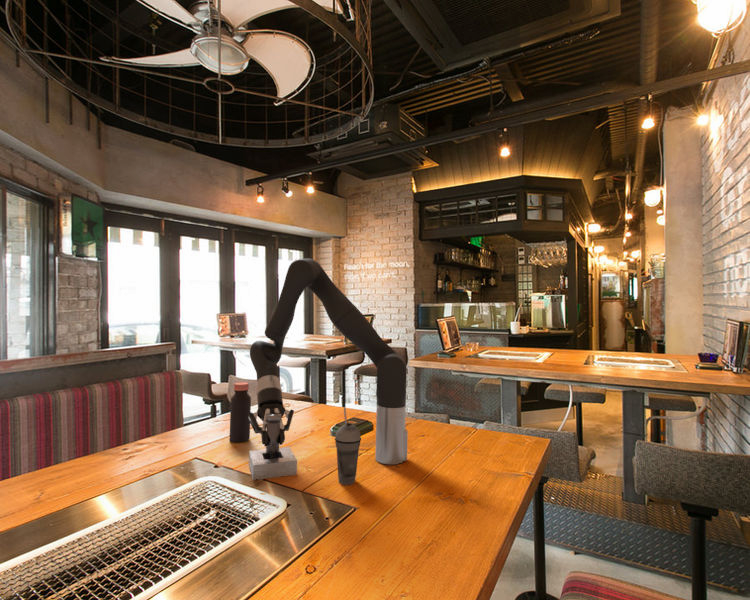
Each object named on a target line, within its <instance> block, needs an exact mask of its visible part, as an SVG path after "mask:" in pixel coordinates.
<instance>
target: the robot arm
mask: <svg viewBox="0 0 750 600" xmlns="http://www.w3.org/2000/svg"><path fill="white" fill-rule="evenodd" d="M307 288H308V289H309V290H311V292H312V293H313V294H314V295H315V296H317V298H318V299H319V300H320V302H321V303H322V306H323V308H324V310H325V312H326V315H327V316H328V319H329V320H330V321H331V323H332V324H333V326H334V327H335V328H336V329H337V330H338V331H339V332H340V333H341V335H343V337H344V338H346V339H347V340H348V341H349V342H350V343H352V344H353V345H354V346H355V347H357V348H358V349H359V350H361V351H362V352H363V353H364V354H365V355H366V356H367V357H368V359H369V360H370V361H371V362H372V363H373V364H374V366H375V367H376V416H375V417H376V418H375V419H376V421H375V422H376V423H375V427H376V428H375V452H374V455H375V461H376V462H378V463H381V464H383V465H391V466H392V465H399V463H400V464H401V463H403V461H404V462H407V461H408V436H409V435H408V434H409V433H408V429H406V414H407V413H406V409H407V408H406V403H407V375H408V374H407V372H408V370H407V369H408V367H407V363H406V360H405V359H404V358H403V356H401V355H400V354H399V353H398V352H396V351H395V350H394V349H393V348H392V347H391V346H390V345H389V344H388V343H387V342H385V340H383V338H382V337H381V336H380V335H379V333H378V332H377V330H376V329H375V328H374V326H372V324H371V323H370V321H369V320H368V319H367V318H366V316H365V315H364V314H363V313H362V312H361V311H360V310H359V309H358V307H357V306H356V305H355V304H354V303H353V302H352V301H351V300H350V299H349V298H348V297H347V296H346V294H344V292H342V291H341V290H340V289H339V287H337V286H336V284H335V283H334V282H333V281H332V280H331V278H330V277H329V276H328V274H327V273H326V271H325V270H324V269H323V267H322V265H320V263H319V262H318V261H316V260H314V258H313V259H312V258H299V259H295V260H293V261H292V262H291V263H290V264H289V266H288V269H287V272H286V275H285V279H284V283H283V286H282V289H281V292H280V294H279V295H280V296H279V299H278V300H277V304H276V306H275V308H274V311H273V313H272V315H271V317H270V319H269V321H268V323H267V325H266V328H265V330H264V335H265V337H266V338H267V339H269V340H271V341H273V342H267V341H264V340H257V341H256V340H255V342H253V343H252V344H251V346H250V349H249V357H250V360H251V364H252V365H253V367H254V371H255V373H256V381H257V382H256V396H257V410H256V411H255V412H251V413H249V417H248V419H249V422H250V427H252V429H253V432H254V433H255V434H256V435H257V434H260V435H261V444H262V445H264V447H266V446H267V445H268V438H267V420H266V414H268V413H281V420H280V441H279V446H282V445H283V443H285V440H286V436H285V435H286V434H285V432H289V431H290V427H291V424H292V420H293V417H294V412H295V410H294V409H290V410H288V409H286V407H285V406H284V401H283V400H284V399H283V394H282V393H283V392H282V385H281V382H280V372H279V367H278V366H277V363H278V362H279V361H280V360H281V358H282V354H283V353H282V352H283V347H284V343H285V338H286V336H287V334H288V332H289V329H290V328H291V325H292V324H293V321H294V319H295V318H294V317H295V312H296V308H297V303H298V301H299V299H300V298H301V296H302V294H303V293H304V292H305V290H306V289H307ZM284 415H285V417H286V419H287V420H286V424H284V423H283V419H282V418H283V417H284ZM257 418H259V419H260V421H262V426H260V424H259V422H258V421H257V420H258V419H257Z"/></svg>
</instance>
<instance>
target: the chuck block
mask: <svg viewBox="0 0 750 600" xmlns="http://www.w3.org/2000/svg"><path fill="white" fill-rule="evenodd" d="M248 466H249V470H250V471H249V472H250V475H251V479H252V481H256V479H258V480H264V479H265V480H266V479H271V478H280V477H288V476H295V475H298V473H297V472H298V459H297V457H296V456H295V454H294V452H293V451H292V448H291V447H290V446H282V447H279V458H275V459H266V448H264V449H254V450H249V452H248Z"/></svg>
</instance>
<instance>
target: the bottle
mask: <svg viewBox="0 0 750 600" xmlns="http://www.w3.org/2000/svg"><path fill="white" fill-rule="evenodd" d="M233 386H234V387H233V392H234V394H233V395H232V396H231V398H230V415H229V416H230V417H229V441H230V443H234V444H241V443H245V442H248V441H250V437H251V436H250V435H251V424H250V422H249V419H248V417H249V413H251V409H252V408H251V407H252V406H251V405H252V404H251V403H252V396H250V394H249V393H248V392H249V388H250V387H249V382H242V381H241V382H235V383H234V385H233Z"/></svg>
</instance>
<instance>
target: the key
mask: <svg viewBox="0 0 750 600" xmlns="http://www.w3.org/2000/svg"><path fill="white" fill-rule="evenodd" d="M266 420H267V428H266V431H267V438H268V445H267V446H265V449H266V459H275V458H279V448H280V443H279V441H280V420H281V413H268V414H266Z"/></svg>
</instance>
